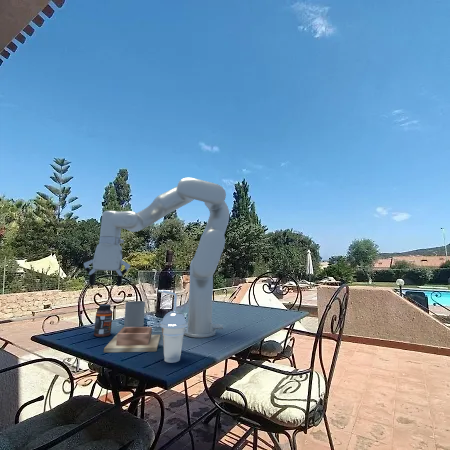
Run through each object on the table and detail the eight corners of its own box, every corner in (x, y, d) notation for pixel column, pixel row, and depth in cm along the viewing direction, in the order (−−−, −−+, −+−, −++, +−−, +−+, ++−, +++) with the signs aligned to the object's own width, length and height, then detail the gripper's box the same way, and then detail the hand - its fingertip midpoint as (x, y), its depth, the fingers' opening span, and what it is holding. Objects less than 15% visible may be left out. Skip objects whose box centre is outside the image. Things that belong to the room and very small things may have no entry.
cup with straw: (176, 367, 76) (179, 292, 78) (149, 361, 79) (153, 290, 82) (192, 357, 83) (194, 289, 86) (167, 353, 87) (170, 288, 90)
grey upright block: (132, 328, 117) (134, 304, 118) (119, 326, 121) (121, 302, 123) (147, 325, 124) (149, 302, 125) (135, 322, 128) (136, 300, 130)
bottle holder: (160, 337, 104) (161, 324, 105) (156, 351, 88) (157, 336, 89) (115, 338, 102) (116, 325, 102) (103, 352, 86) (104, 336, 87)
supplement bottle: (104, 337, 102) (107, 306, 104) (90, 336, 103) (92, 305, 105) (114, 333, 108) (116, 304, 109) (100, 332, 109) (102, 303, 111)
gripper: (133, 243, 115) (129, 285, 113) (89, 241, 113) (85, 284, 111) (130, 242, 108) (126, 287, 106) (83, 239, 106) (78, 285, 103)
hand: (105, 285), depth 108 cm, fingers open, 9 cm apart
